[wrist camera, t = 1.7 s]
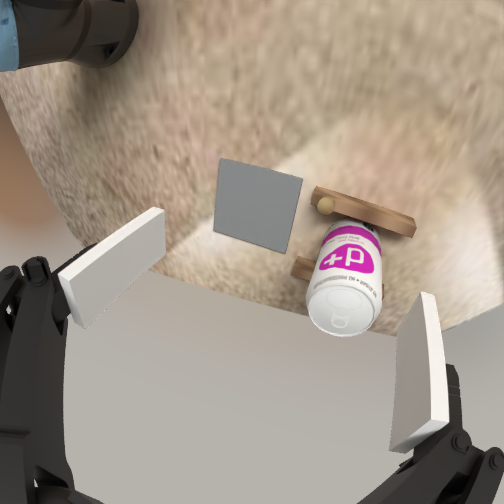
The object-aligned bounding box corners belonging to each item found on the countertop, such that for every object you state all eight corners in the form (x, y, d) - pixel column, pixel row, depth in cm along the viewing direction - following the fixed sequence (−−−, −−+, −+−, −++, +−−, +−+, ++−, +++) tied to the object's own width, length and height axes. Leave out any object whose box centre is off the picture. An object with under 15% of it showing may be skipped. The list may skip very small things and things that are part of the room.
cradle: (296, 264, 46) (288, 280, 42) (316, 184, 38) (311, 195, 35) (380, 291, 43) (380, 310, 39) (414, 216, 35) (419, 231, 32)
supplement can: (326, 211, 40) (305, 272, 28) (385, 221, 37) (390, 287, 25) (321, 262, 44) (299, 332, 32) (375, 271, 41) (371, 346, 29)
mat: (214, 229, 48) (213, 230, 47) (221, 158, 41) (220, 158, 41) (285, 252, 45) (285, 253, 45) (302, 178, 38) (302, 179, 38)
